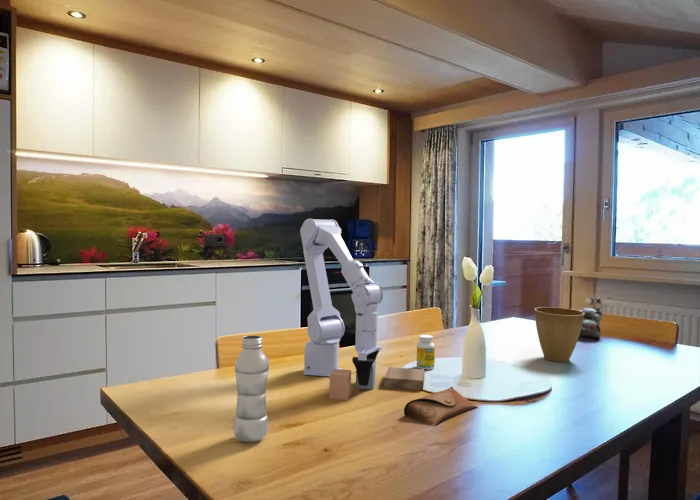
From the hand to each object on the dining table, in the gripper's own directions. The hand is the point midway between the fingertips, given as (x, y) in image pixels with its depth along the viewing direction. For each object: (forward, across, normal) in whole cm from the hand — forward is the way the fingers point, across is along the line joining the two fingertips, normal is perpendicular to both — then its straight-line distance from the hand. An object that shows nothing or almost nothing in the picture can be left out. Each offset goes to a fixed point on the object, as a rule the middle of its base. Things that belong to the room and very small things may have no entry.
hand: (365, 380), depth 127 cm
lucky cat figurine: (+2, +80, -75) cm, 110 cm away
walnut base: (+2, +5, -10) cm, 11 cm away
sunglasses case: (+2, -14, -20) cm, 24 cm away
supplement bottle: (+2, +21, -15) cm, 26 cm away
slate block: (+2, 0, 0) cm, 2 cm away
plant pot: (+2, +41, -57) cm, 70 cm away
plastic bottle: (+2, -37, +17) cm, 41 cm away
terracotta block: (+2, -9, +5) cm, 10 cm away
